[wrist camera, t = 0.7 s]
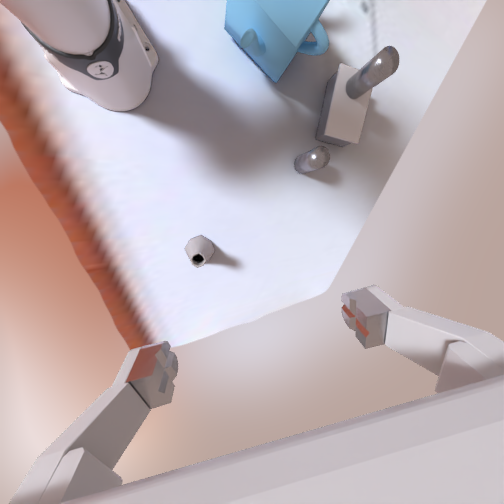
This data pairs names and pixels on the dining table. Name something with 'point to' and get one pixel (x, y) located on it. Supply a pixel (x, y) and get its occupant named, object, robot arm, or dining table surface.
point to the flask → (199, 250)
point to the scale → (342, 111)
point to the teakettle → (276, 30)
